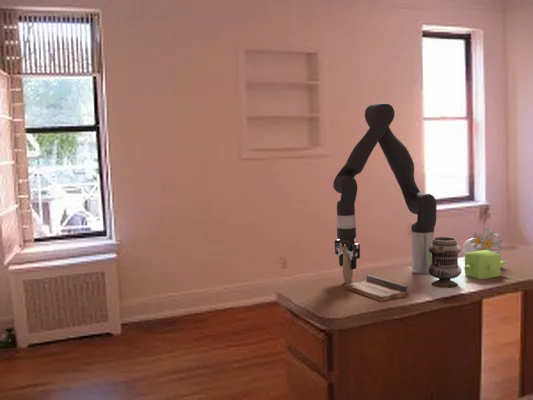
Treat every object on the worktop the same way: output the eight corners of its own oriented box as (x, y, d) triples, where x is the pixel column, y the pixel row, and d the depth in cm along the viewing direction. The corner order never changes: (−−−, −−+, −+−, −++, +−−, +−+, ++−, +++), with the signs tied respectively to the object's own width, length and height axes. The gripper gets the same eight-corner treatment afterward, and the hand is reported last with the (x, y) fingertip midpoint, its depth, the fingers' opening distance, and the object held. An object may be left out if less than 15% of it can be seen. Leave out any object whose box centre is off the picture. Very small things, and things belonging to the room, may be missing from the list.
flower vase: (464, 272, 260) (483, 270, 235) (453, 234, 263) (471, 228, 238) (491, 266, 260) (513, 263, 235) (479, 227, 263) (500, 221, 238)
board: (369, 283, 221) (369, 274, 220) (408, 295, 201) (407, 286, 201) (344, 288, 215) (344, 279, 215) (381, 301, 196) (381, 291, 196)
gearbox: (471, 283, 217) (471, 259, 215) (455, 276, 226) (455, 253, 225) (509, 276, 222) (509, 253, 221) (492, 270, 232) (492, 248, 230)
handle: (358, 283, 222) (357, 245, 221) (344, 285, 220) (342, 247, 218) (351, 280, 227) (350, 244, 225) (338, 282, 224) (336, 245, 223)
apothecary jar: (442, 290, 206) (441, 242, 204) (421, 283, 217) (421, 237, 215) (468, 286, 210) (468, 238, 209) (447, 279, 221) (446, 234, 220)
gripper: (365, 227, 217) (366, 269, 218) (343, 223, 229) (344, 263, 231) (349, 229, 213) (350, 272, 215) (328, 225, 226) (329, 265, 227)
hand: (347, 267), depth 223 cm, fingers open, 7 cm apart
